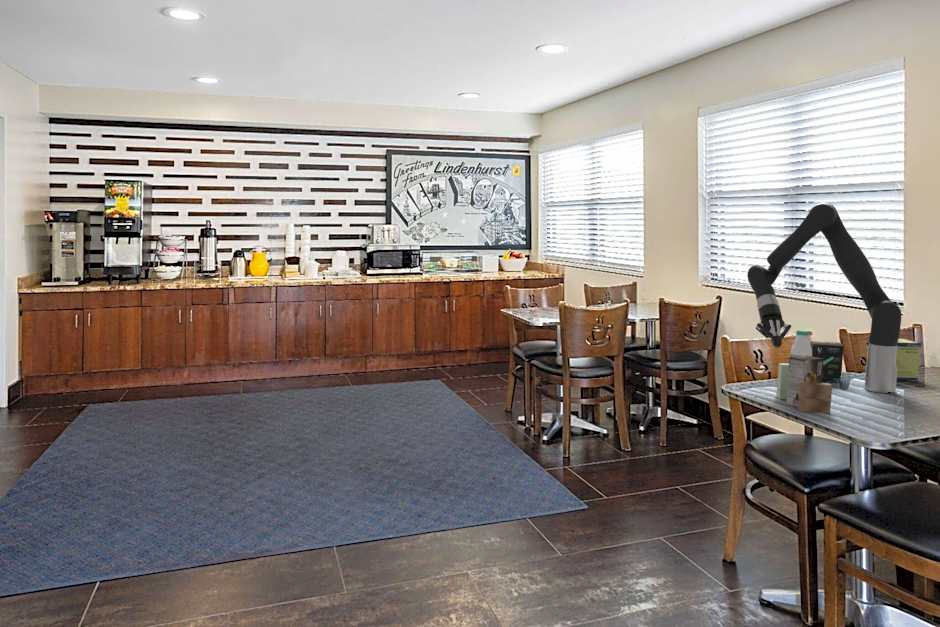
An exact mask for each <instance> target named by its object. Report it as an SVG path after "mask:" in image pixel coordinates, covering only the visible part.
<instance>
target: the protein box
mask: <svg viewBox="0 0 940 627" xmlns="http://www.w3.org/2000/svg"><path fill="white" fill-rule="evenodd" d="M921 347H922V342H918V341H914V340H910V339H907V338H899V339H898V343H897V353H896V364H895V366H897V367H898V371H897V380H917V381H918V377H919V369H920V368H919V366H920V359H921V358H920V356H921Z"/></svg>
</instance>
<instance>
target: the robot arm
mask: <svg viewBox="0 0 940 627" xmlns="http://www.w3.org/2000/svg"><path fill="white" fill-rule="evenodd" d="M820 232H821V233H822V234H823V236H824V238H825V239H826V240H827V243H828V244H829V246H830V250H831V251H832V252H831V253H832V254H833V257H834V259H835V262H836V264H837V266H838V268H839V269H840V270H841V271H842V273H843V276H844V277H846V279H847V280H848V282H849V283H850V284H851V285H852V287H853V288H854V290H855V291H856V292H857V293H858V295H859V296H860V297H861V300H862V301H863V303H864V305H865V307H866V310H867V311H868V314H869V316H870V318H871V325H870V326H871V327H870V334H869V336H868V344H867V346H868V347H867V356H866V366H865V367H866V368H865V379H864V387H863V388H864V390H866V391H869V392H874V393H880V392H881V394H882V393H883V394H885V393H886V394H889V393H888V392H891V393H896V392H897V391H896V389H897V382H898V381H897V371H898V367H897V366H895V364H896V353H897V343H898V339H900V332H901V326H902V325H901V324H902V310H901V307H899V305H898V304H896V303H894V302H893V301H892V300H891V299H890V298H889V296H888V295H887V294H886V292H885V291H884V290H883V288H882V287H881V286H880V284H879V281H878V279H877V275H876V273H875V271H874V269H873V266H872V265H871V263H870V261H869V260H868V258H867V257H866V255H865V253H864V252H863V251H862V249H861V248H860V246H859V244H858V243H857V242H856V240H854V238H853V237H852V236H851V235H850V233H849V231H848V230H847V229H846V226H845V225H844V223H843V221H842V220H841V217H840V215H839V213H838V211H837V209H836V207H835V206H834V205H833V204H831V203H829V202H826V201H825V202H824V201H823V202H820V203H819V202H818V203H816V204H815V205H813V206H812V207H811V208H810V210H809V212H808V213H807V215H806V217H804V219H803V220H802V222H801V223H800V224H799V225H798V227H796V229H795V230H794V231H793V232H792V233H791V234H790V235H789V236H788V237H787V238H785V239H784V240H783V241H782V242H781V243H780V244H779V245H778V246H777V247H776V248H775V249H774V250H773V251H772V252H771V253H769V255H768V256H767V258H766V261H767V263H768V264H769V267H767V268H766V267H764V266H763V265H761V264H754V265H752V266H750V267H749V269H748V270H747V274H746V275H747V280H748V283H749V285H750V287H751V289H752V290H753V293H754V294H755V298H756V303H757V304H756V305H757V310H758V313H759V320H760V322H758V323H757V324H756V326H755V329H756V331H758V332H759V333H760V334H761V335H762V336H764V337H765V338H766V339H771V342H772V346H773V347H774V348H781V347H782V345H783V342H782V339H784V338H785V336H786V335H787V334H788V333H789V331H790V330H791V329H792V325H791V324H786V323H785V321H784V320H783V315H782V310H781V307H780V304H779V301H778V299H777V295H776V291H775V288H774V287H773V284H774V283H775V282H776V280H777V279H778V277H779V275H780V274H781V272H782V270H783V268H784V267H785V266H787V264H789V263H790V261H792V259H794V257H796V255H797V254H798V253H799V252H800V251H801V250H802V248H803V247H804V246H806V244H808V242H809V241H810V240H811V239H813V238H814V237H816V235H818V234H819V233H820ZM782 328H783V331H781V330H782Z"/></svg>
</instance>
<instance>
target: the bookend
mask: <svg viewBox="0 0 940 627" xmlns="http://www.w3.org/2000/svg"><path fill="white" fill-rule="evenodd" d="M777 370H778V371H777V380H776V381H777V384H776V394H775V395H776V398H777V397H778V398H777V399H779V400H787V390H788V374H789V362H788V363H787V362H786V363H785V362H784V363H782V362H779V363H778V368H777Z"/></svg>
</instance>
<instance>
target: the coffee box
mask: <svg viewBox="0 0 940 627" xmlns="http://www.w3.org/2000/svg"><path fill="white" fill-rule="evenodd" d="M788 360H789V362H788V363H789V374H788V390H787V399H786V404H787V405H789V404H790V405H789V406H793V405H794V406H793V407H797V408H798V399H799V386H800V382H807V383H823V381H822V371H823V358H818V357H813V356H798V357H790V356H789V359H788Z"/></svg>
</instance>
